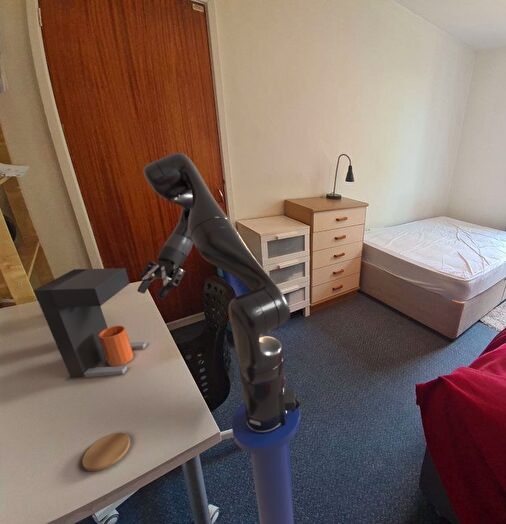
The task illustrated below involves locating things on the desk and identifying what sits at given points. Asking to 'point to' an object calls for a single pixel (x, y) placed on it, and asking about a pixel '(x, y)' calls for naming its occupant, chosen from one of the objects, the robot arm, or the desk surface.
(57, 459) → the desk surface
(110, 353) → the cup
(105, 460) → the coaster
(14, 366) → the desk surface
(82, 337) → the coffee maker
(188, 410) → the desk surface
